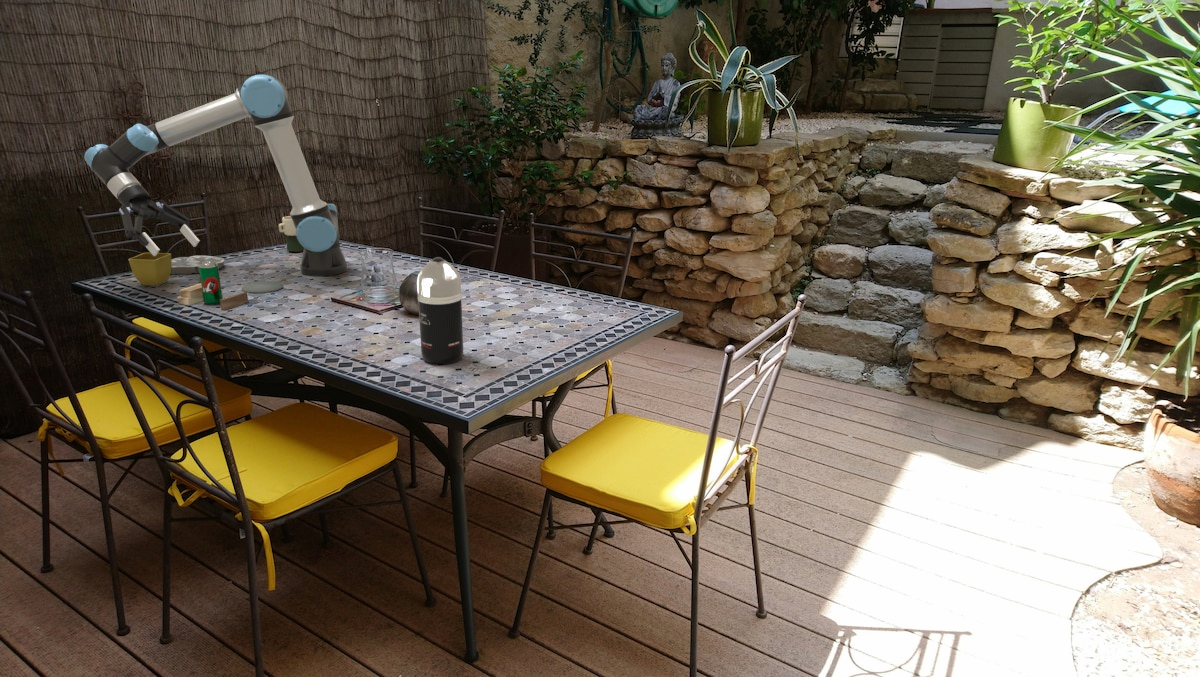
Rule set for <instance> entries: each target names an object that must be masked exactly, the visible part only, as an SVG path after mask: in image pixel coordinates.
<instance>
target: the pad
mask: <svg viewBox="0 0 1200 677" xmlns="http://www.w3.org/2000/svg"><path fill="white" fill-rule="evenodd" d="M283 286H284V283H282V282H279V281H271V280H269V281H256V282H250V283H247V284H244V285H242V286H241V291H242V292H243V291H244V292H249V293H248V294H267V293H266V292H269V293H274V292H278V291H280V290H282V289H284V287H283ZM281 288H282V289H281ZM279 289H280V290H279ZM277 290H278V291H277ZM273 291H274V292H273Z"/></svg>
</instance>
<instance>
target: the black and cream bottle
mask: <svg viewBox="0 0 1200 677" xmlns="http://www.w3.org/2000/svg"><path fill="white" fill-rule="evenodd" d="M416 284H417V285H416V286H417V287H416V288H417V301H418V302H417V303H418V317H419V332H420V333H419V334H420V335H419V336H420V352H421V357H422V359H423V360H424V361H425V362H427V363H430V364H434V365H447V364H452V363H456V362H458V361H459V360H461V359H462V357H463V356H464V335H463V334H464V333H463V330H464V329H463V311H462V310H463V309H462V308H463V307H462V305H463V304H462V299H463V295H462V294H463V293H462V280H461V276H460V274H459V272H458V270H457V269H456V268H455V267H454V266H453V265H452V264H451V263H449V262H448V261H447V260H445V259H443V257H441V256H436V257H434V258H432V259H431V260H430V261H429V262H427V263H426V264H425V265H424V266H423V267H422V268H421V269H420V271H419V273H418V275H417V278H416Z"/></svg>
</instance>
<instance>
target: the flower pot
mask: <svg viewBox="0 0 1200 677" xmlns="http://www.w3.org/2000/svg"><path fill="white" fill-rule="evenodd" d="M171 259H172V253H167V252H166V253H164V252H163V253H162V252H158V254H157V255H156V256H153V255H152V254H151V252H142V253H141V254H138V255H136V256H133V257H130V258H128V259H127V260H128V262H129V266H130V269H131V271H132V274H133V276H134V277H135V279H136V280H137V281H138V282H139V283H140V285H142V286H157V287H158V286H161V285H163V284H164V283H167V282H168V281H169V278H170V276H171V275H172V274H171V269H172V262H171Z"/></svg>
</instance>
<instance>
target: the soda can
mask: <svg viewBox="0 0 1200 677" xmlns="http://www.w3.org/2000/svg"><path fill="white" fill-rule="evenodd" d="M199 264H200V265H199V267H198V269H199V273H198V274H199V281H200V283H201V287H202V294H203V300H204V301H203V303H204V304H206V305H209V306H213V305H214V306H215V305H218V304H220V300H221V299H224V297H223V290H222V284H221V278H220V277H221V276H220V271H219V270H220V269H218V265H217V264H216V262H215V261H205V262H201V263H199Z"/></svg>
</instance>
